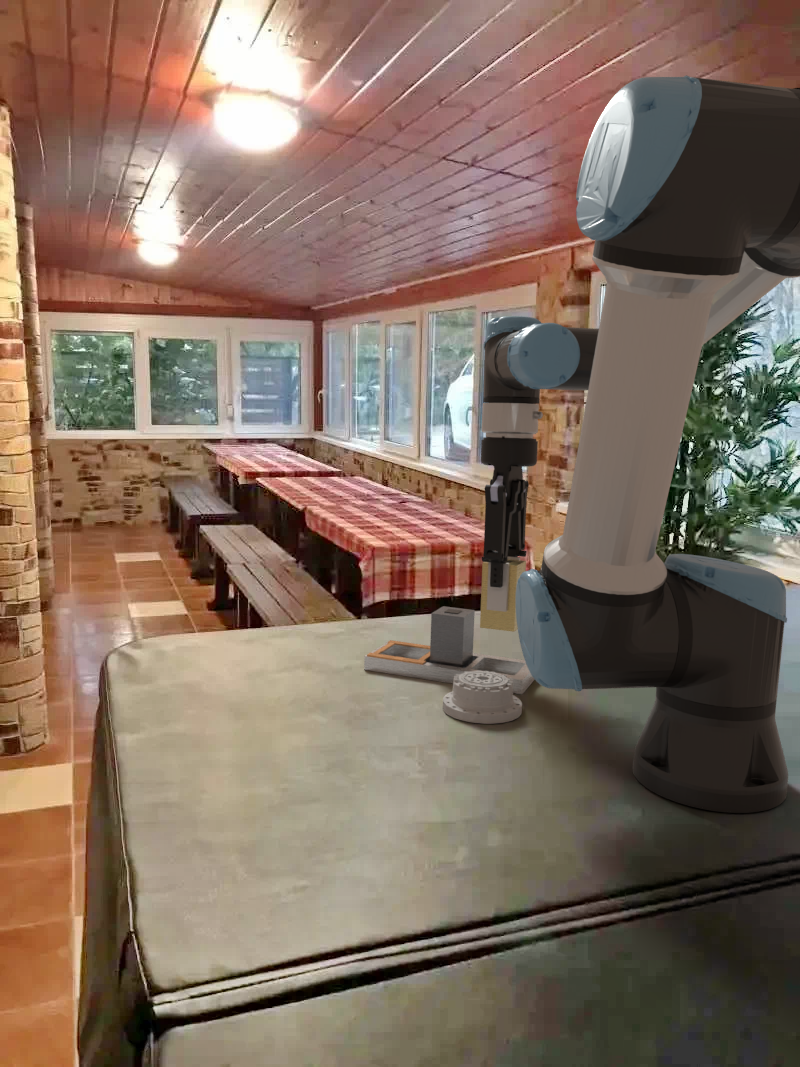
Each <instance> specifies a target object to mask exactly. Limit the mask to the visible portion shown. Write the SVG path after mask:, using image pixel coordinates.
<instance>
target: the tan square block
mask: <svg viewBox="0 0 800 1067" xmlns="http://www.w3.org/2000/svg"><path fill="white" fill-rule="evenodd" d="M507 563H510V564H509V587H508V611H506V612H504V611H495V610H487V587H488V562H483V561H482V564H481V566H482V568H481V570H482V571H481V589H480V590H481V594H480V596H481V597H480V614H479V615H480V616H479V628H480V629H490V630H496V631H503V632H516V631H518V627H517V619H516V586H517V582H518V579H519V578H520V575H521V574H522V573H523V572H525V571H527V570H526V568H527V560H521V559H520V560H511V559H508V560H507Z"/></svg>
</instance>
